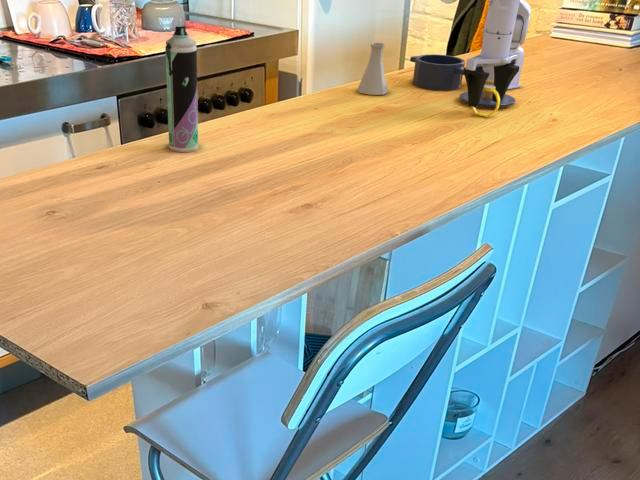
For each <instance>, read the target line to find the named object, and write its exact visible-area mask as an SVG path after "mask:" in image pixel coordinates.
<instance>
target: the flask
mask: <svg viewBox="0 0 640 480" xmlns="http://www.w3.org/2000/svg"><path fill="white" fill-rule="evenodd" d="M385 47H386V44H385V43H384V42H371V43H370V48H371V50H370V51H371V52H370V56H369V59H368V63H367V65H366V69H365V71H364V73H363V75H362V77H361V80H360V83H359V85H358V87H357V91H358V93H360V94H365V95H370V96H372V95H373V96H379V95H380V96H381V95H382V96H383V95H385V94H387V93H389V90H388V85H387V84H388V83H387V80H386V75H385V68H384V58H383V53H384V48H385Z"/></svg>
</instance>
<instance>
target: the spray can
mask: <svg viewBox="0 0 640 480" xmlns="http://www.w3.org/2000/svg"><path fill="white" fill-rule="evenodd" d="M174 29H175V31H174V33H172V36H171V37H170V38H169V39H167V40H166V41H165V47H164V48H165V74H166V96H167V97H166V99H167V101H166V102H167V124H168V126H167V127H168V128H167V129H168V147H169V150H171V151H173V152H176V153H191V152H195V151H197V150H199V113H198V112H199V109H198V108H199V106H198V105H199V104H198V47H197V41H196V40H194V39H192V38H191V37H190V35H189V33H188V32H187V29H186V25H182V26H175V28H174Z"/></svg>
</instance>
